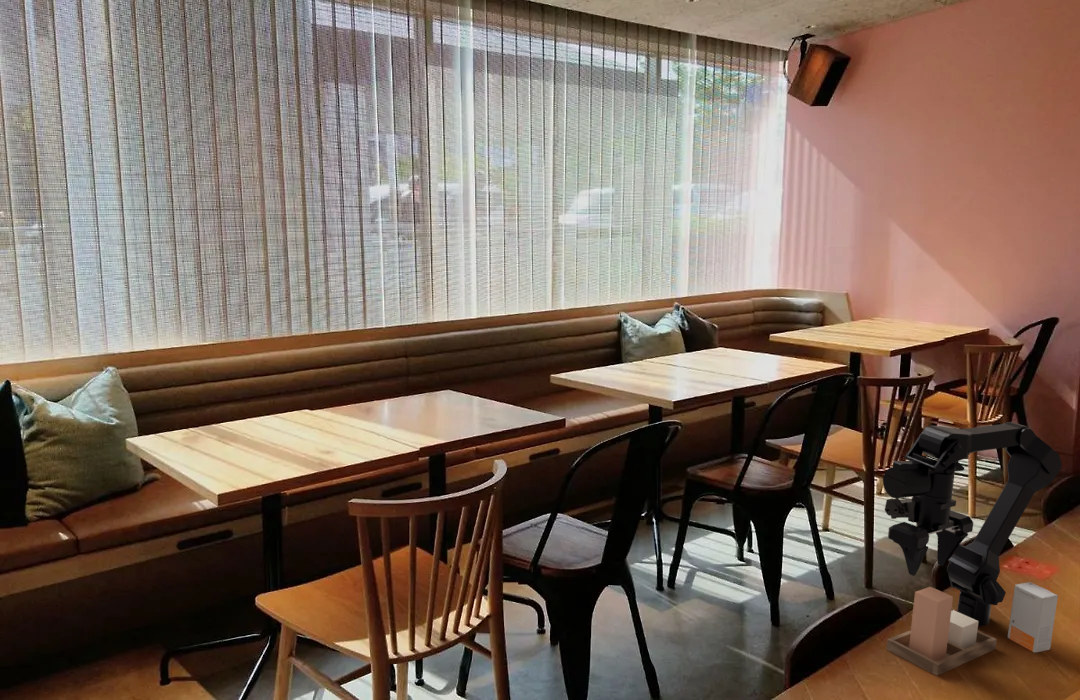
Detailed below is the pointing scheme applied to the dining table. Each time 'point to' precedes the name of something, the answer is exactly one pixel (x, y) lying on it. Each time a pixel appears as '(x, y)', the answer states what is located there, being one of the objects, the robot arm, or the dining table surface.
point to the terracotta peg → (931, 623)
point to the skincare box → (1032, 616)
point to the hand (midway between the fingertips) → (926, 570)
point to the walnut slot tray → (953, 653)
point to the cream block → (962, 630)
